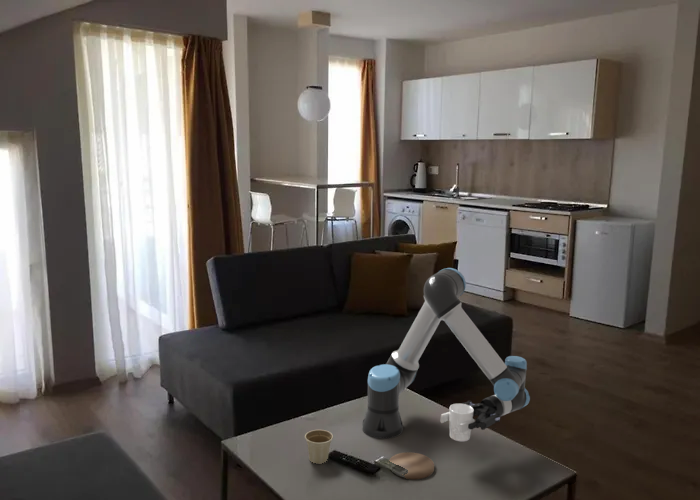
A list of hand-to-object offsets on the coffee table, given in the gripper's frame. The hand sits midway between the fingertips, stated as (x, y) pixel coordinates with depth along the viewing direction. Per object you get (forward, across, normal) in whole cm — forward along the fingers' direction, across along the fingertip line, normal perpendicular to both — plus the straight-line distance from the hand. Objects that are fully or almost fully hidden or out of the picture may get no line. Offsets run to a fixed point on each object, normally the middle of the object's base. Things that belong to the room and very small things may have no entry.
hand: (450, 423), depth 196 cm
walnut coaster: (+9, +8, -16) cm, 20 cm away
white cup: (-5, 0, -6) cm, 8 cm away
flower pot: (+31, +30, -17) cm, 46 cm away
